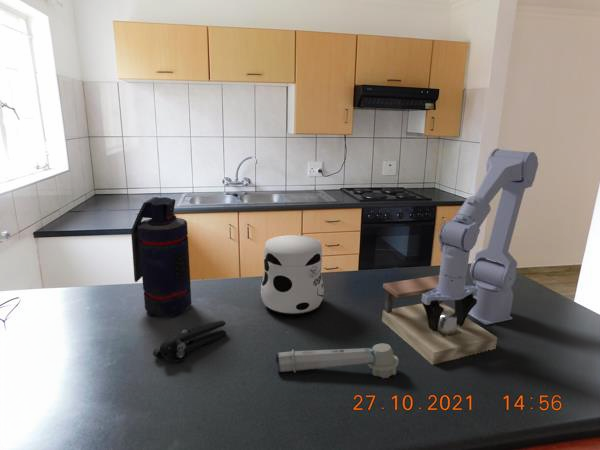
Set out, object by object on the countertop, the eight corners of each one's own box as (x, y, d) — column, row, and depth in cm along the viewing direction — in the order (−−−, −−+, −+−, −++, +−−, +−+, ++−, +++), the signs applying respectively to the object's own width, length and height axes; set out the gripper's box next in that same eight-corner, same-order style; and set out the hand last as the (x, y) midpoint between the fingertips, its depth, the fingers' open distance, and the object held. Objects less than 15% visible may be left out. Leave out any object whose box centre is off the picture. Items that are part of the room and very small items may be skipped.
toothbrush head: (276, 346, 87) (394, 334, 86) (280, 373, 89) (395, 362, 88) (275, 361, 82) (399, 348, 81) (279, 389, 84) (401, 377, 83)
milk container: (335, 309, 112) (339, 247, 107) (281, 327, 102) (282, 259, 97) (300, 286, 125) (301, 230, 120) (249, 300, 116) (249, 240, 111)
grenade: (196, 299, 116) (191, 195, 107) (184, 320, 104) (177, 205, 96) (148, 297, 116) (139, 193, 108) (130, 318, 104) (118, 204, 96)
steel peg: (450, 337, 100) (454, 311, 98) (456, 346, 96) (459, 319, 94) (433, 336, 100) (437, 310, 98) (438, 345, 96) (442, 318, 94)
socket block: (438, 309, 113) (443, 274, 110) (497, 348, 95) (504, 307, 92) (379, 320, 106) (383, 283, 103) (430, 365, 88) (436, 321, 85)
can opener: (167, 372, 84) (165, 348, 83) (150, 358, 89) (148, 335, 87) (235, 339, 97) (234, 317, 95) (217, 328, 101) (216, 308, 100)
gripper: (465, 263, 99) (457, 314, 103) (415, 270, 94) (409, 323, 98) (487, 274, 93) (479, 327, 97) (436, 282, 88) (429, 338, 92)
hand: (445, 326), depth 97 cm, fingers open, 7 cm apart
